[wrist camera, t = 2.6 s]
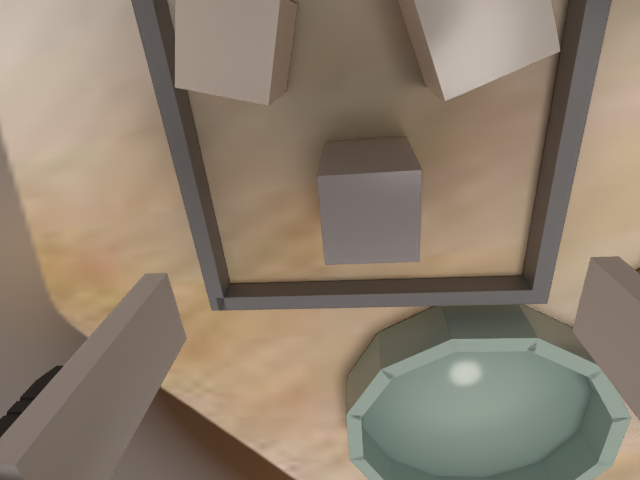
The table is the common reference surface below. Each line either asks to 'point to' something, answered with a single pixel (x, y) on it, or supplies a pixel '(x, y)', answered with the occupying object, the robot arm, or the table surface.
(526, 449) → the bowl
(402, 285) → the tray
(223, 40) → the light grey block
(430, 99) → the table surface
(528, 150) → the table surface
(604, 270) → the robot arm
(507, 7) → the pale grey block
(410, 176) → the grey square pillar
